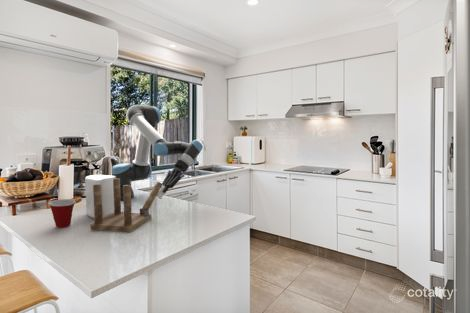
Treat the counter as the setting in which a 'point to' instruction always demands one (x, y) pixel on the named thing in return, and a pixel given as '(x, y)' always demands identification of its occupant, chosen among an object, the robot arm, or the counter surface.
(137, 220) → the footstool
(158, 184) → the folding leg
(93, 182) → the white canister
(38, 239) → the counter surface
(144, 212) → the hinge bracket
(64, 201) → the plastic cup
